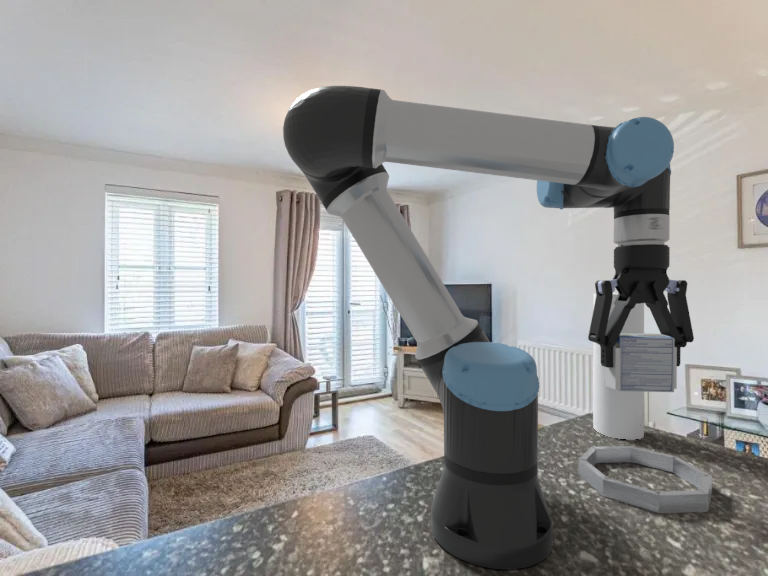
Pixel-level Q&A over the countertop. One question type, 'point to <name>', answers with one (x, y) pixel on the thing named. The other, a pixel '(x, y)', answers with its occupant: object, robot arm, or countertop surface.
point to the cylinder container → (613, 407)
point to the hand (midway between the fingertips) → (640, 387)
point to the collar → (643, 496)
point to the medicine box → (646, 362)
